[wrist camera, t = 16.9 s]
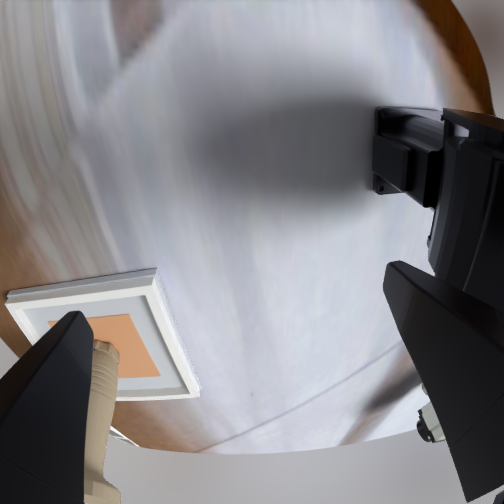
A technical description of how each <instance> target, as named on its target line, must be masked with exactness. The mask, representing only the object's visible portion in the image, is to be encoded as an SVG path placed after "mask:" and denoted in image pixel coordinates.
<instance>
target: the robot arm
mask: <svg viewBox="0 0 504 504" xmlns="http://www.w3.org/2000/svg"><path fill="white" fill-rule="evenodd" d="M382 111H383V112H384V116H383V117H381V112H382ZM440 116H441V119H440ZM372 170H373V171H374V179H373V190H374V191H375V192H376V193H377V194H379V195H383V194H393V193H406V194H407V195H408V196H410V197H411V198H412V199H414V200H415V201H416V202H418V203H419V204H420V205H422V206H423V207H424V208H430V209H431V210H432V211H434V217H433V222H432V227H431V232H430V235H429V236H428V240H427V246H428V248H429V250H428V261H429V263H430V265H431V267H432V269H433V271H434V272H435V276H432V275H430V274H428V273H426V272H424V271H422V270H420V269H418V268H415V267H413V266H411V265H409V264H407V263H405V262H403V261H400V260H399V261H394V262H389V263H388V264H387V266H386V271H385V277H384V282H383V291H384V294H385V297H386V299H387V302H388V304H389V307H390V309H391V312H392V315H393V317H394V320H395V323H396V325H397V328H398V330H399V333H400V335H401V337H402V340H403V342H404V344H405V346H406V348H407V350H408V352H409V354H410V356H411V358H412V360H413V363H414V365H415V367H416V369H417V371H418V373H419V376H420V378H421V380H422V382H423V385H424V387H425V389H426V391H427V394H428V396H429V399H430V401H431V403H432V406H433V408H434V410H435V413H436V415H437V418H438V420H439V423H440V425H441V428H442V431H443V433H444V436H445V439H446V441H447V444H448V447H449V448H450V449H449V450H450V453H451V456H452V458H453V461H454V464H455V467H456V470H457V473H458V476H459V479H460V483H461V486H462V489H463V492H464V496H465V499H466V501H467V503H468V502H470V501H473V500H475V499H477V498H479V497H481V496H483V495H485V494H487V493H489V492H491V491H493V490H495V489H496V488H499V487H500V486H502V485H504V119H501V118H498V117H495V116H491V115H486V114H481V113H475V112H469V111H462V110H455V109H447V108H443V112H441V111H436V110H425V109H412V108H395V107H378V108H377V109H376V111H375V136H374V137H373V162H372ZM381 185H382V187H381V189H379V190H378V188H379V186H381ZM93 343H94V333H93V330H92V328H91V326H90V324H89V323H88V321H87V319H86V318H85V316H84V314H83V313H82V312H81V311H79V310H77V311H69V312H68V313H66V314H65V315H64V316H63V317H62V318H61V319H60V320H59V321H58V322H57V323H56V324H55V325H54V326H53V327H52V328H50V329H49V330H48V331H47V332H46V333H45V334H44V335H43V336H42V337H41V338H40V339H39V340H38V341H37V342H36V343H35V344H34V345H33V346H32V347H31V348H30V349H29V350H28V351H27V352H26V353H25V354H24V355H23V356H22V357H21V358H20V359H19V360H18V361H17V362H16V363H15V364H14V365H13V366H12V368H11V369H10V370H9V371H8V372H7V373H6V374H5V375H4V376H3V377H2V378H1V379H0V504H84V461H85V441H86V427H87V415H88V406H89V397H90V389H91V379H92V359H93ZM493 504H504V490H503V491H501V492H500V493H499V494H497V495H496V498H495V500H494V503H493Z"/></svg>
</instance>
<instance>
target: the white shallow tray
mask: <svg viewBox="0 0 504 504" xmlns="http://www.w3.org/2000/svg"><path fill="white" fill-rule="evenodd" d="M7 297H8V300H7V301H6V303H5V305H6V307H7V309H8V310H9V312H10V313H11V315H12V316H13V318H14V320H15V321H16V323H17V324H18V326H19V327H20V329H21V330H22V331H23V333H24V334H25V336H26V337H27V339H28V340H29V341H30V343H31V344H32V345H34V344H35V343H36V342H37V341H38V340H39V339H40V338H41V337H42V336H43V335H44V334H45V333H46V332H47V331H48V330H49V329H50V328H52V327H53V326H54V325H55V324H56V323H57V322H58V321H59V320H60V319H61V318H62V317H63V316H64V315H65V314H66V313H68V312H69V311H77V310H79V311H81V312H82V313H83V314H84V316H85V318H86V319H87V321H88V323H89V324H90V326H91V328H92V330H93V333H94V341H97V340H99V341H101V342H104V343H111V344H113V345H114V348H115V349H116V350H117V351H118V352H119V353H120V363H119V364H117V365H118V386H117V395H116V401H140V400H164V399H180V398H193V397H200V392H199V390H202V384H201V382H200V380H199V377H198V375H197V373H196V370H195V368H194V366H193V363H192V361H191V358H190V356H189V354H188V351H187V349H186V346H185V344H184V341H183V339H182V336H181V334H180V331H179V328H178V326H177V323H176V321H175V318H174V315H173V313H172V310H171V307H170V304H169V302H168V299H167V296H166V293H165V290H164V288H163V285H162V282H161V279H160V276H159V273H158V270H157V268H155V269H148V270H142V271H135V272H129V273H122V274H116V275H109V276H103V277H96V278H90V279H83V280H76V281H70V282H63V283H57V284H50V285H43V286H37V287H30V288H24V289H17V290H10V292H9V293H8V295H7Z"/></svg>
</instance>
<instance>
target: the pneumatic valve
mask: <svg viewBox="0 0 504 504" xmlns="http://www.w3.org/2000/svg"><path fill="white" fill-rule="evenodd" d="M421 382H422V380H421ZM422 390H423V391H424V393H425V394H426V395H428V394H427V391H426V389H425V387H424V385H423V384H422ZM418 413H419V415H420V416H419V419H420V420H419V421H418V422H417V430H418V432H419V434H420V436H421V437H422V438H423V440H425V441H426V442H431V441H432V443H435V442H441V441H444V440H446V439H445V436H444V433H443V431H442V428H441V425H440V423H439V420H438V418H437V415H436V413H435V410H434V408H433V406H432V403H431V401H430V402H429V403H428V404H426V405H425V406H424V407H423V408H421V409H420V410H419V411H418Z"/></svg>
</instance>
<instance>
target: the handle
mask: <svg viewBox="0 0 504 504" xmlns="http://www.w3.org/2000/svg"><path fill="white" fill-rule="evenodd" d="M119 363H120V353H119V352H118V351H117V350H116V349H115V348H114V345H113V344H111V343H104V342H101V341H99V340H97V341H94V343H93V359H92V379H91V389H90V397H89V406H88V415H87V427H86V441H85V461H84V502H85V503H89V504H121V503H120V502H121V501H120V500H121V495H120V492H119V490H118V489H117V488H116V487H114V486H113V485H112V484H110V483H109V482H108V481H106V480H105V479H104V477H103V465H104V458H105V452H106V446H107V440H108V435H109V431H110V426H111V421H112V417H113V412H114V408H115V402H116V395H117V386H118V365H117V364H119Z"/></svg>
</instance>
